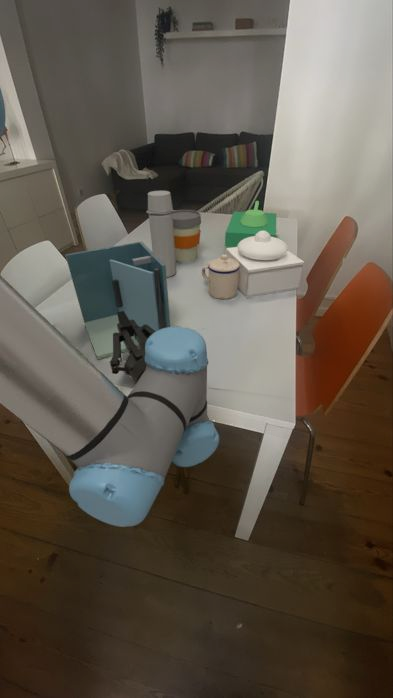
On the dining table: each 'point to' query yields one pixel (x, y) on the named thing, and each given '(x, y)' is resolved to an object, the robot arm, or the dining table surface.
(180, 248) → the reusable coffee cup
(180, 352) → the robot arm
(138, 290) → the shower door
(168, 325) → the shower
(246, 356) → the dining table surface
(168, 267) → the water bottle
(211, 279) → the teacup with lid
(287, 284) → the butter dish
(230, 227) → the toy tank
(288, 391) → the dining table surface
